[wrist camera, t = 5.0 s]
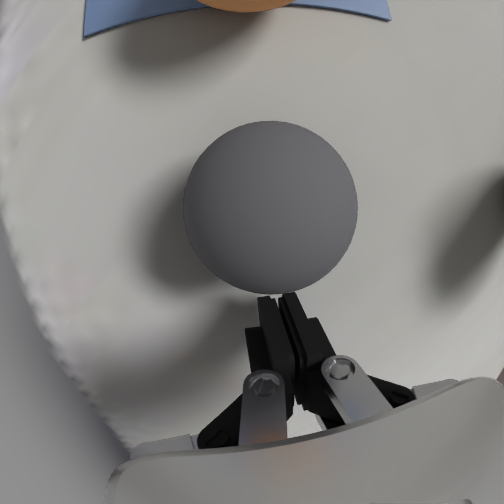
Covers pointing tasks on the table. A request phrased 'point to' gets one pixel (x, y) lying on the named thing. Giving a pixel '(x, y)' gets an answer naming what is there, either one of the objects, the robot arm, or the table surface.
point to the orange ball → (246, 4)
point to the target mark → (157, 3)
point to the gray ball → (270, 207)
